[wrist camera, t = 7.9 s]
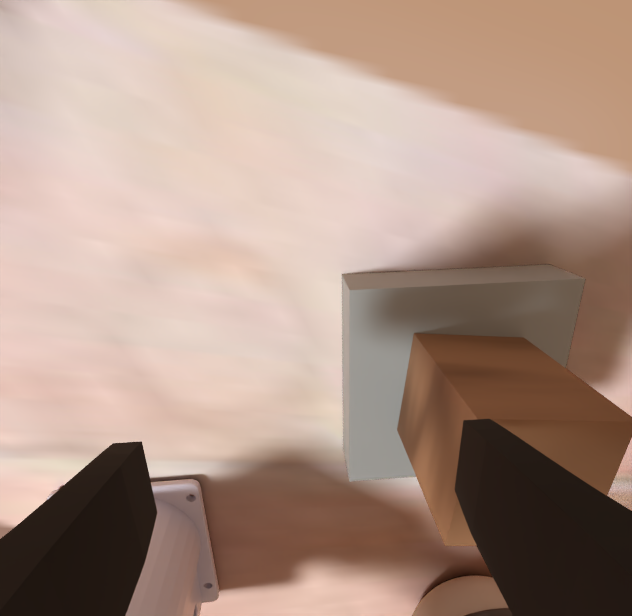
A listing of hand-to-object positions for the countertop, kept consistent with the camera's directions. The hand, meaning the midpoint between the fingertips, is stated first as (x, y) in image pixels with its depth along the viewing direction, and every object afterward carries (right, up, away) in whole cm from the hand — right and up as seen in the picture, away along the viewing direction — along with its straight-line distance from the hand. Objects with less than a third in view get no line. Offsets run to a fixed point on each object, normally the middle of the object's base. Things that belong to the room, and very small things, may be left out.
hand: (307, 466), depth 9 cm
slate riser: (+7, +1, +12) cm, 14 cm away
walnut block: (+7, 0, +9) cm, 11 cm away
